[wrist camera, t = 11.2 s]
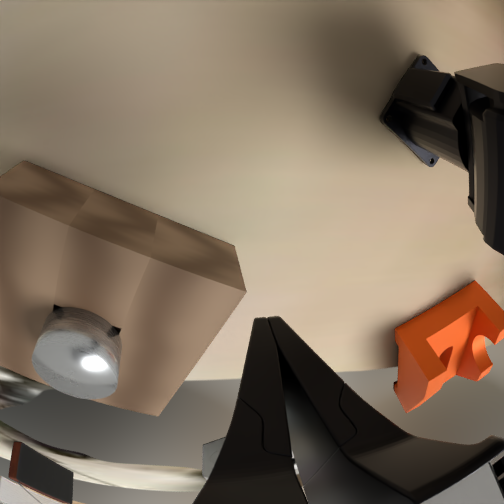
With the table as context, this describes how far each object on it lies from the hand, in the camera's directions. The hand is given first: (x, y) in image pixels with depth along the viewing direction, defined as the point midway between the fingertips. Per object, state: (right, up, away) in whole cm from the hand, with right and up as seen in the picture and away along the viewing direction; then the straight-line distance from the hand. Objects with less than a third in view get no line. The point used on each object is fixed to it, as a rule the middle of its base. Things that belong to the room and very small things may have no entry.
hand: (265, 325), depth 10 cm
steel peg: (-12, -1, +11) cm, 17 cm away
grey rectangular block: (-88, -91, +53) cm, 137 cm away
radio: (-43, -41, +31) cm, 67 cm away
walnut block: (-12, -1, +11) cm, 17 cm away
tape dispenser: (+25, -10, +26) cm, 37 cm away
